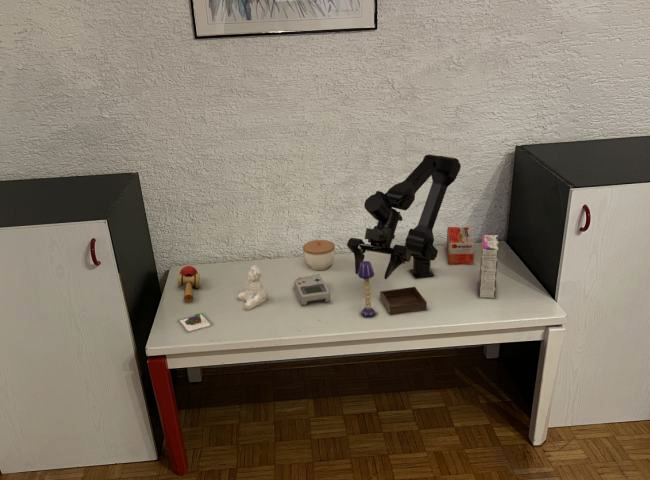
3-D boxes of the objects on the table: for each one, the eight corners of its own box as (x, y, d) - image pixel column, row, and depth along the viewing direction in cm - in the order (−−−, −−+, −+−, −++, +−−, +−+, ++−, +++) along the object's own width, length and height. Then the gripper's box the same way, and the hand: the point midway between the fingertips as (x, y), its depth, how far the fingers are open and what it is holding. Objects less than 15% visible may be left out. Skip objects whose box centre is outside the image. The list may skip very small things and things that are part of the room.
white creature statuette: (237, 298, 220) (232, 263, 214) (262, 292, 223) (259, 258, 216) (246, 310, 212) (242, 274, 206) (272, 304, 215) (269, 268, 209)
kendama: (204, 304, 220) (203, 274, 234) (198, 288, 216) (197, 258, 230) (181, 310, 220) (180, 280, 234) (174, 294, 216) (174, 264, 230)
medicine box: (473, 264, 233) (474, 242, 229) (448, 265, 234) (449, 242, 230) (469, 247, 246) (470, 226, 242) (445, 247, 247) (446, 226, 243)
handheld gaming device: (320, 283, 226) (319, 273, 224) (330, 303, 214) (330, 292, 212) (293, 288, 225) (292, 277, 223) (302, 307, 212) (301, 296, 210)
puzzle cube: (198, 318, 209) (197, 311, 208) (201, 322, 207) (200, 315, 206) (184, 322, 207) (183, 315, 206) (188, 325, 205) (186, 318, 204)
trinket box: (316, 258, 244) (315, 233, 240) (341, 264, 239) (340, 238, 234) (298, 269, 237) (296, 243, 232) (323, 275, 231) (322, 249, 227)
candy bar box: (478, 282, 221) (481, 234, 213) (494, 283, 220) (498, 234, 212) (478, 298, 211) (481, 248, 203) (495, 299, 210) (499, 248, 202)
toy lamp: (364, 319, 203) (363, 267, 195) (356, 313, 207) (354, 261, 199) (378, 315, 205) (377, 263, 197) (370, 309, 209) (369, 257, 200)
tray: (379, 298, 214) (379, 291, 213) (414, 294, 216) (414, 286, 215) (390, 315, 205) (390, 307, 204) (426, 310, 206) (426, 302, 205)
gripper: (348, 211, 202) (332, 260, 200) (408, 219, 194) (392, 270, 191) (360, 228, 212) (345, 275, 209) (418, 236, 204) (403, 285, 201)
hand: (370, 276), depth 203 cm, fingers open, 9 cm apart
